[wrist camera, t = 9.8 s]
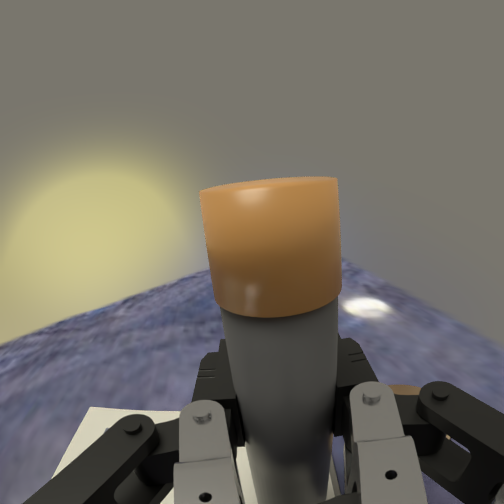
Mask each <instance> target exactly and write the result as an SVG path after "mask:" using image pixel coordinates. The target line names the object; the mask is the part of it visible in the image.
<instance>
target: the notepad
mask: <svg viewBox="0 0 504 504" xmlns="http://www.w3.org/2000/svg"><path fill="white" fill-rule="evenodd" d="M180 412H181V411H141V410H123V409H110V408H99V407H90V409H89V410H88V412H87V414H86V416H85V417H84V419H83V421H82V423H81V425H80V426H79V428H78V430H77V432H76V434H75V435H74V437H73V439H72V441H71V443H70V445H69V447H68V448H67V450H66V452H65V454H64V456H63V458H62V460H61V462H60V464H59V465H58V467H57V469H56V471H55V473H54V475H53V477H55V476H56V475H57V474H58V473H59V472H60V471H62V470H63V469H64V468H65V467H66V466H67V465H68V464H70V463H71V462H72V461H73V460H74V459H75V458H77V457H78V456H79V455H80V454H81V453H82V452H83V451H84V450H86V449H87V448H88V447H89V446H90V445H91V444H92V443H94V442H95V441H96V440H97V439H98V438H99V437H100V436H101V435H103V434H104V433H105V432H106V431H107V430H108V429H109V428H110V427H111V426H113V425H114V424H115V423H116V422H117V421H118V420H119V419H121V418H123V417H125V416H127V415H131V414H143V415H146V416H148V417H150V418H151V419H152V420H153V422H154V424H157V423H162V422H167V421H171V420H174V419H177V418H179V415H180ZM236 461H237V466H238V471H239V476H240V481H241V486H242V491H243V496H244V501H245V504H258V502H257V498H256V493H255V489H254V484H253V480H252V475H251V471H250V466H249V461H248V456H247V452H246V447H237V458H236ZM53 477H52V478H53ZM339 495H341V494H340V489H339V485H338V481H337V476H336V472H335V468H334V464H333V459H332V455H331V462H330V472H329V481H328V489H327V497H326V500H329V499H331V498H334V497H336V496H339ZM160 504H174V487H173V489H172V490H171V491H170V492H169V493H168V495H167V496H166V497H165V498H164V499H163V501H162V502H161V503H160Z"/></svg>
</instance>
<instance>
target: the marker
mask: <svg viewBox="0 0 504 504" xmlns="http://www.w3.org/2000/svg"><path fill="white" fill-rule="evenodd" d="M199 195H200V202H201V210H202V217H203V225H204V231H205V239H206V246H207V252H208V259H209V266H210V272H211V279H212V285H213V291H214V297H215V301H216V302H217V304H218V305H219V306H220V310H221V316H222V322H223V328H224V334H225V340H226V346H227V351H228V357H229V363H230V368H231V374H232V380H233V385H234V389H235V392H236V397H237V402H238V407H239V412H240V418H241V423H242V428H243V433H244V438H245V447H246V452H247V456H248V461H249V466H250V471H251V475H252V480H253V484H254V489H255V493H256V498H257V502H258V504H318V503H321V502H323V501H326V497H327V489H328V481H329V472H330V462H331V452H332V440H333V424H334V409H335V391H336V377H337V345H338V295H339V294H340V292H341V288H342V268H341V235H340V213H339V197H338V183H337V178H334V177H288V178H274V179H264V180H254V181H247V182H239V183H232V184H226V185H221V186H215V187H211V188H207V189H204V190H201V191H199Z"/></svg>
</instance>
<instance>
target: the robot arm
mask: <svg viewBox="0 0 504 504" xmlns="http://www.w3.org/2000/svg"><path fill="white" fill-rule="evenodd" d="M333 434H334V437H337V436H342V435H343V438H344V441H345V443H344V477H345V494H344V495H339V496H336V497H334V498H331V499H329V500H326V501H323V502H321V503H318V504H428V502H427V497H426V492H425V488H424V483H423V478H422V474H421V471H422V472H424V473H425V474H426V475H427V476H429V477H430V478H431V479H433V480H434V481H435V482H436V483H438V484H439V485H440V486H442V487H443V488H444V489H446V490H447V491H448V492H450V493H451V494H452V495H454V496H455V497H456V498H458V499H459V500H460V501H462V502H463V503H464V504H504V414H503V413H501V412H499V411H497V410H496V409H494V408H492V407H490V406H489V405H487V404H485V403H483V402H482V401H480V400H478V399H476V398H475V397H473V396H471V395H469V394H468V393H466V392H464V391H462V390H461V389H459V388H457V387H455V386H454V385H452V384H450V383H447V382H442V381H435V382H431V383H428V384H426V385H424V386H423V387H422V388H421V390H420V392H419V395H399V394H394V393H393V391H392V389H391V388H390V387H389V386H387V385H386V384H383V383H380V382H379V381H378V379H377V377H376V375H375V373H374V372H373V370H372V368H371V366H370V364H369V362H368V360H367V358H366V356H365V354H363V351H362V349H361V347H360V345H359V344H358V343H357V342H355V341H354V340H353V339H351V338H345V339H341V338H340V336H339V334H338V345H337V377H336V391H335V409H334V424H333ZM446 435H448V436H450V437H451V438H453V439H454V440H456V441H457V442H459V443H460V444H462V445H463V446H465V447H466V448H467V449H468V450H469V451H470V453H469V452H467V451H466V450H464V449H463V448H461V447H460V446H458V445H457V444H455V443H454V442H452V441H451V440H449V439H448V438H446ZM237 447H245V438H244V433H243V428H242V423H241V418H240V412H239V407H238V402H237V397H236V392H235V389H234V385H233V380H232V374H231V368H230V363H229V357H228V351H227V346H226V340H225V339H221V340H220V346H219V352H212V353H207V355H206V356H205V357H204V358H203V359H202V360H201V363H200V367H199V371H198V376H197V380H196V384H195V389H194V393H193V398H192V402H191V403H190V404H188V405H186V406H185V407H184V408H183V409H182V410H181V412H180V415H179V418H177V419H174V420H171V421H167V422H162V423H157V424H154V422H153V420H152V419H151V418H150V417H148V416H146V415H143V414H131V415H127V416H125V417H123V418H121V419H119V420H118V421H117V422H116V423H115V424H114V425H113V426H111V427H110V428H109V429H108V430H107V431H106V432H105V433H104V434H103V435H101V436H100V437H99V438H98V439H97V440H96V441H95V442H94V443H92V444H91V445H90V446H89V447H88V448H87V449H86V450H84V451H83V452H82V453H81V454H80V455H79V456H78V457H77V458H75V459H74V460H73V461H72V462H71V463H70V464H68V465H67V466H66V467H65V468H64V469H63V470H62V471H60V472H59V473H58V474H57V475H56V476H55V477H53V478H52V479H51V480H50V481H49V482H48V483H46V484H45V485H44V486H43V487H42V488H40V489H39V490H38V491H37V492H36V493H35V494H33V495H32V496H31V497H30V498H29V499H27V500H26V501H25V502H24V503H23V504H160V503H161V502H162V501H163V499H164V498H165V497H166V496H167V495H168V493H169V492H170V491H171V490H172V489H173V487H174V504H245V501H244V496H243V491H242V486H241V481H240V476H239V471H238V466H237V461H236V458H237Z"/></svg>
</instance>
